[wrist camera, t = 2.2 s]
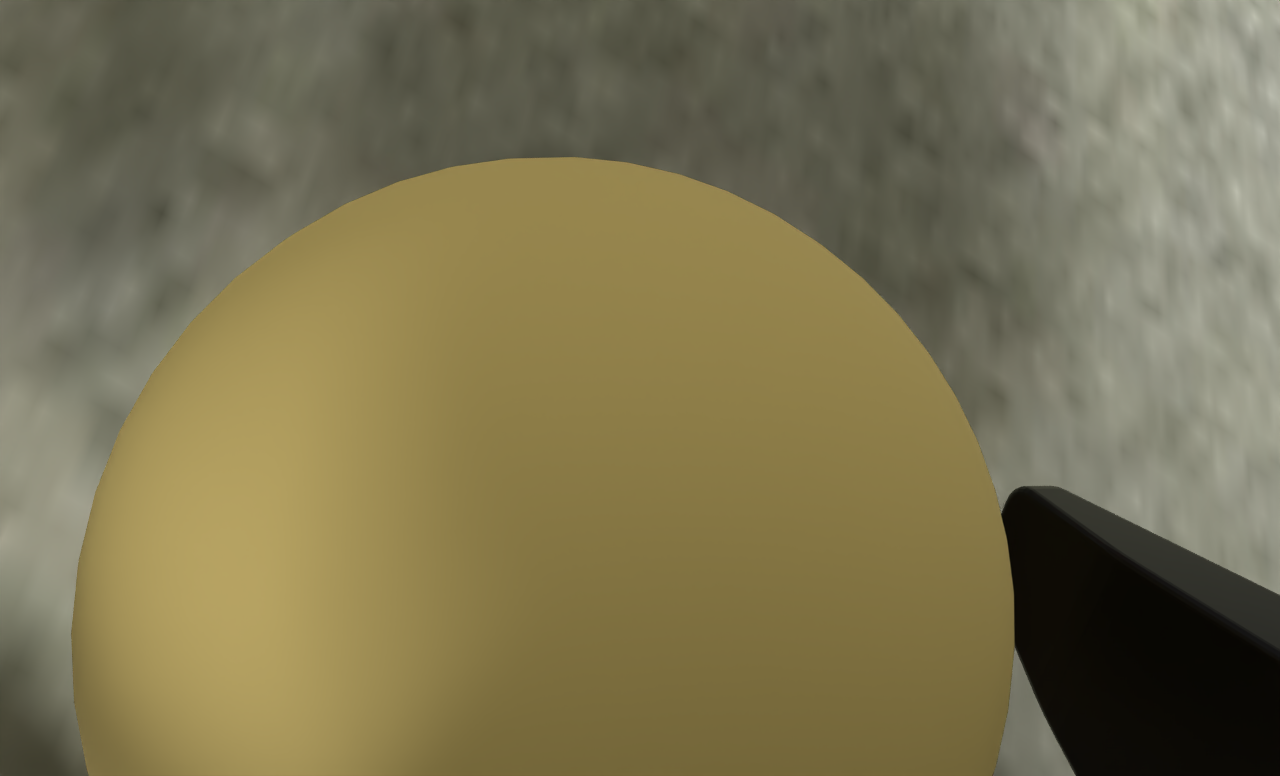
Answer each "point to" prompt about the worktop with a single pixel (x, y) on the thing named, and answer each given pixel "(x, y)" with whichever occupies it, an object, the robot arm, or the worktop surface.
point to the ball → (545, 505)
